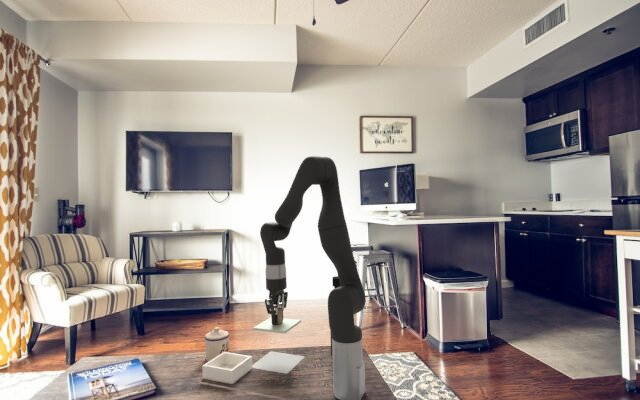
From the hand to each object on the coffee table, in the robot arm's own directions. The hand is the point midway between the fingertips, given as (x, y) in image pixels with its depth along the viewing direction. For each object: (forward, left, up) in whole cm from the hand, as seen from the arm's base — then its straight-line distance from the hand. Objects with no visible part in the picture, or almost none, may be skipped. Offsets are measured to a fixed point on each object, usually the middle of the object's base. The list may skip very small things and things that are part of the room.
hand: (277, 322), depth 138 cm
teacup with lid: (+25, +2, -15) cm, 30 cm away
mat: (0, 0, -15) cm, 15 cm away
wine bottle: (-19, -14, -15) cm, 28 cm away
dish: (+12, +14, -15) cm, 24 cm away
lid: (0, 0, -1) cm, 1 cm away
